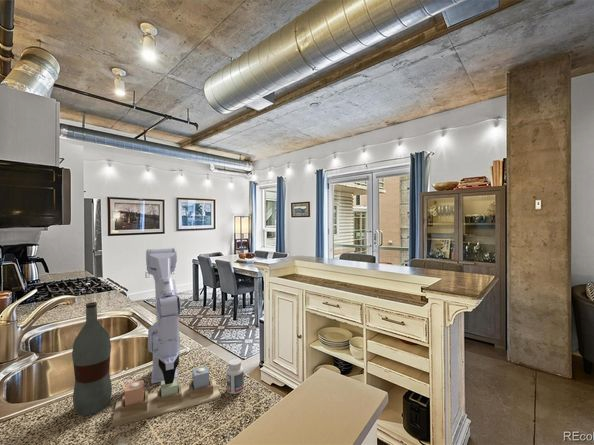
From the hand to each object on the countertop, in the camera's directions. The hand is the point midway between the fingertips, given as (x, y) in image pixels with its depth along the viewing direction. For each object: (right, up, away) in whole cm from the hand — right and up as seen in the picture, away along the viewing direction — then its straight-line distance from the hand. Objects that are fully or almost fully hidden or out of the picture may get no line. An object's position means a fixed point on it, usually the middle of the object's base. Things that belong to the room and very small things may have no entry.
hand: (169, 382), depth 87 cm
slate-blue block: (+8, -3, +4) cm, 9 cm away
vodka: (-21, -6, -2) cm, 22 cm away
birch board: (0, -5, 0) cm, 5 cm away
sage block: (0, -5, 0) cm, 5 cm away
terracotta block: (-8, -3, -4) cm, 9 cm away
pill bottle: (+18, -5, +6) cm, 20 cm away
